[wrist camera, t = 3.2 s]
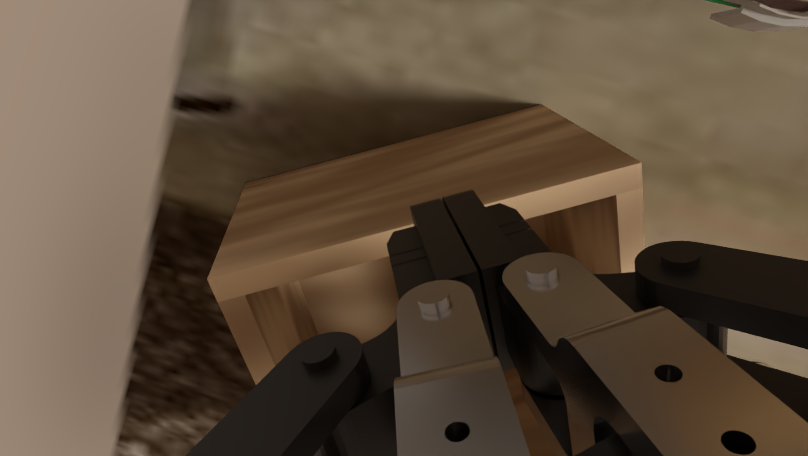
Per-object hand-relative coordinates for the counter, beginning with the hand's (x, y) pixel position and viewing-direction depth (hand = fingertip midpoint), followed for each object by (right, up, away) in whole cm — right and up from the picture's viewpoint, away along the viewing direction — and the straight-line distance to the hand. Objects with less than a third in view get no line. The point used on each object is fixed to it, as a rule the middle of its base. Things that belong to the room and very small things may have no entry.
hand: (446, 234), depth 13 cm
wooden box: (0, -2, +19) cm, 19 cm away
